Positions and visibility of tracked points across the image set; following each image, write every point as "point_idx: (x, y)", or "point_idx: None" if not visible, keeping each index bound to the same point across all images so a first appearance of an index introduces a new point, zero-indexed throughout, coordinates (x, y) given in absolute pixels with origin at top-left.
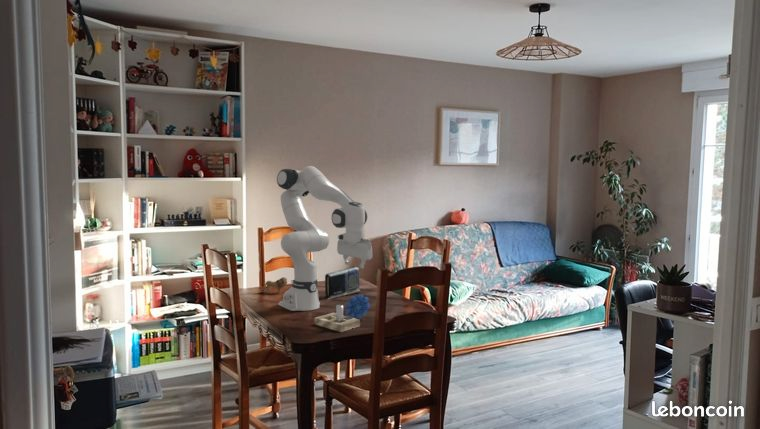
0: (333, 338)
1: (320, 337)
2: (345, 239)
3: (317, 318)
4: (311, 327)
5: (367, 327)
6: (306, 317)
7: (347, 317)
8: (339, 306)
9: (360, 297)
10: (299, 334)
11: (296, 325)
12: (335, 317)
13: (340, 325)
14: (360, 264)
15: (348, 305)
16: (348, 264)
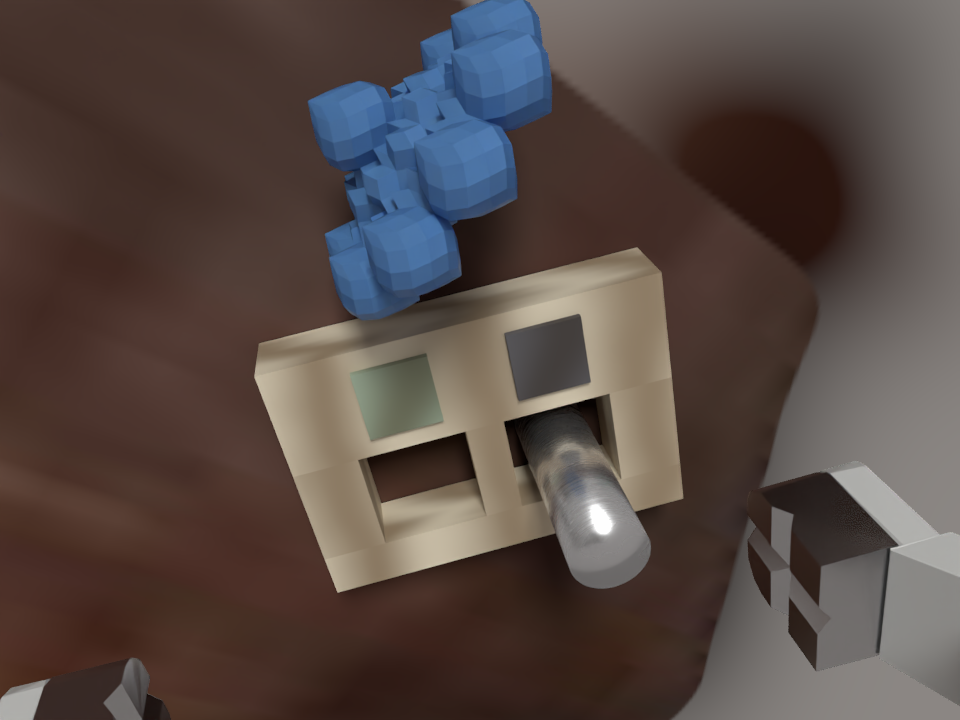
0: (735, 561)
1: (656, 620)
2: None
3: (372, 581)
4: (404, 596)
5: (713, 204)
6: (75, 535)
7: (533, 354)
8: (638, 572)
9: (512, 196)
10: (507, 703)
11: (286, 666)
12: (438, 438)
13: (674, 499)
14: (886, 657)
15: (406, 306)
16: (143, 695)
